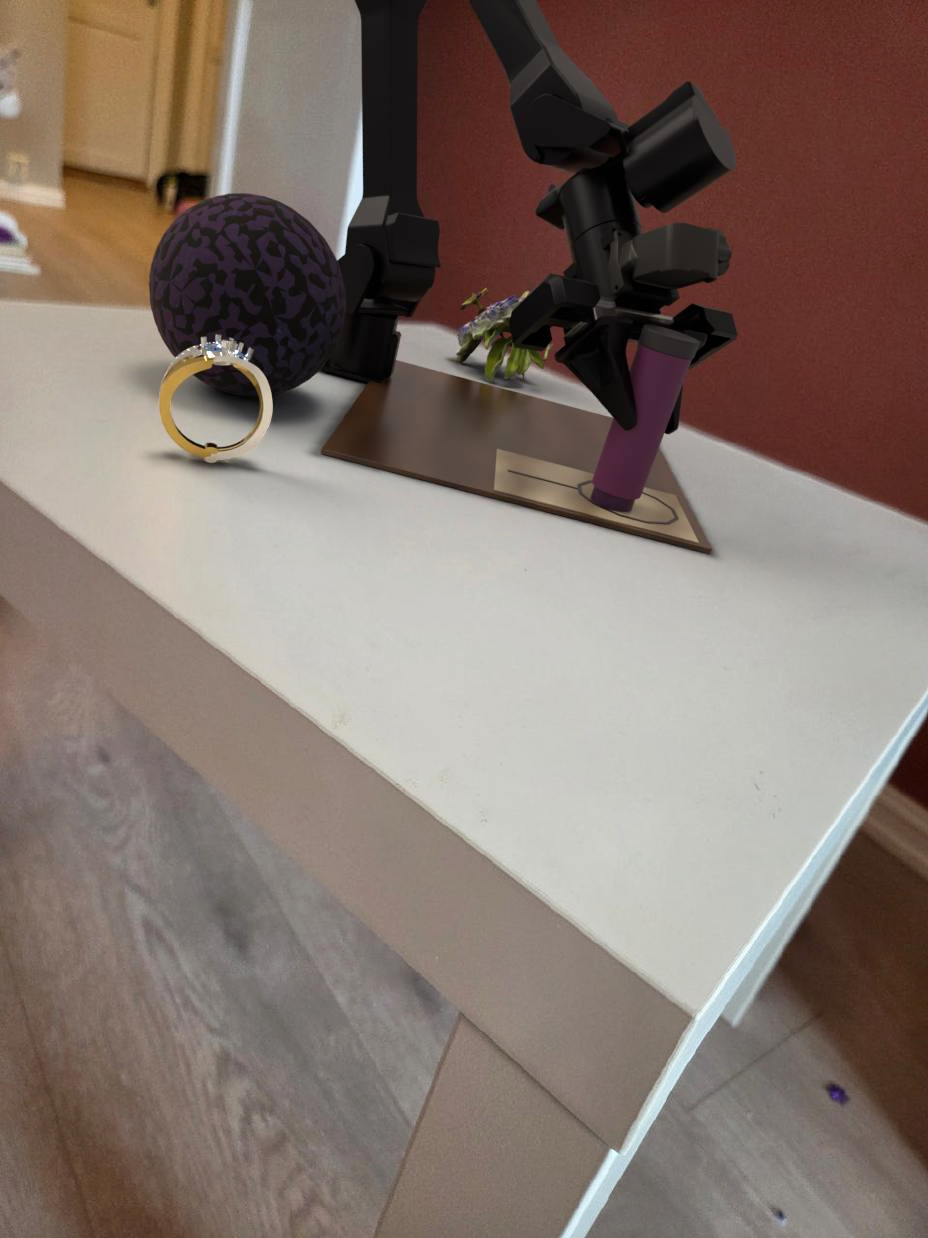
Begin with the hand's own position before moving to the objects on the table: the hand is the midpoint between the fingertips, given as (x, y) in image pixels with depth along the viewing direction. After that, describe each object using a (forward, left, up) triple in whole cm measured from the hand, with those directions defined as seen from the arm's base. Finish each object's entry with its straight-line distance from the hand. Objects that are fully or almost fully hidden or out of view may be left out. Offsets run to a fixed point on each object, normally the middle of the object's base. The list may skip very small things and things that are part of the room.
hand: (651, 430), depth 66 cm
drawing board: (-8, +15, -7) cm, 18 cm away
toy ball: (-32, +7, -7) cm, 34 cm away
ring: (-29, -10, -7) cm, 32 cm away
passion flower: (-11, +42, -7) cm, 44 cm away
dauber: (-1, +1, -7) cm, 7 cm away
